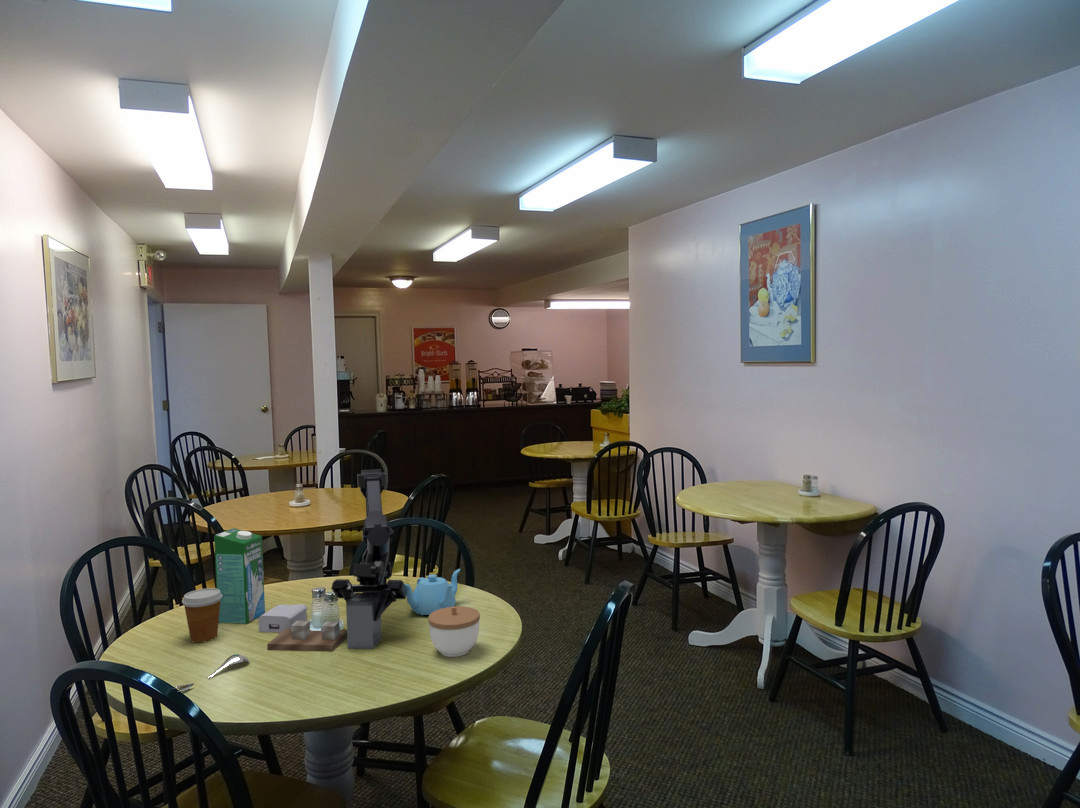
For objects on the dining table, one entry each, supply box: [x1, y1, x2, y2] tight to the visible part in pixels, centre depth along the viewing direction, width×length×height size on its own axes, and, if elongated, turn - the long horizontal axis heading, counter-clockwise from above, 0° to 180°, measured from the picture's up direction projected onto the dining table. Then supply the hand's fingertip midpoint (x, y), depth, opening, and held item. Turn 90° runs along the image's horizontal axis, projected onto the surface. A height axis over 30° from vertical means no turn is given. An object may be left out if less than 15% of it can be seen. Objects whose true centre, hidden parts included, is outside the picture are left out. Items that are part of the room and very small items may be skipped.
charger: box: [257, 603, 309, 634], centre depth 188 cm, size 5×9×15 cm
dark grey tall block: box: [345, 592, 383, 650], centre depth 171 cm, size 7×7×12 cm
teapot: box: [404, 568, 461, 616], centre depth 195 cm, size 15×15×10 cm
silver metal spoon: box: [173, 654, 250, 692], centre depth 154 cm, size 20×4×5 cm
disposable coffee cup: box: [181, 587, 222, 643], centre depth 177 cm, size 10×10×12 cm
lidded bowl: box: [427, 605, 481, 658], centre depth 166 cm, size 13×13×11 cm
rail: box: [266, 620, 347, 652], centre depth 173 cm, size 17×10×5 cm, turn 85°
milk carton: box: [213, 527, 266, 625], centre depth 191 cm, size 9×9×25 cm
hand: (362, 620), depth 170 cm, fingers closed on dark grey tall block, 7 cm apart
